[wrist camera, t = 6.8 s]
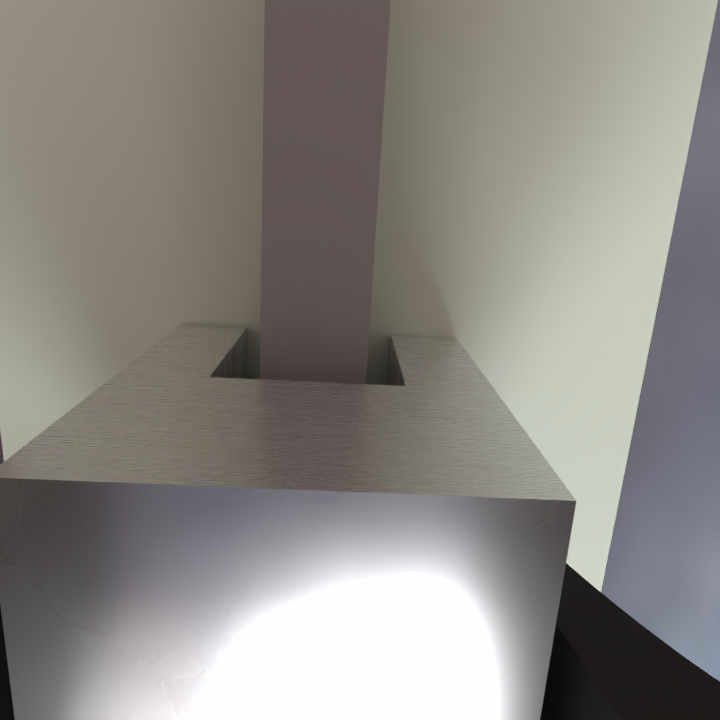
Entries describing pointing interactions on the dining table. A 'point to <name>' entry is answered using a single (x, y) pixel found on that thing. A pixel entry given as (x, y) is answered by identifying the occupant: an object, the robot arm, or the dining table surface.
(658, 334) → the dining table surface
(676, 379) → the dining table surface
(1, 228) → the rail plate
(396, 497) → the block
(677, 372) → the dining table surface
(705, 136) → the dining table surface
